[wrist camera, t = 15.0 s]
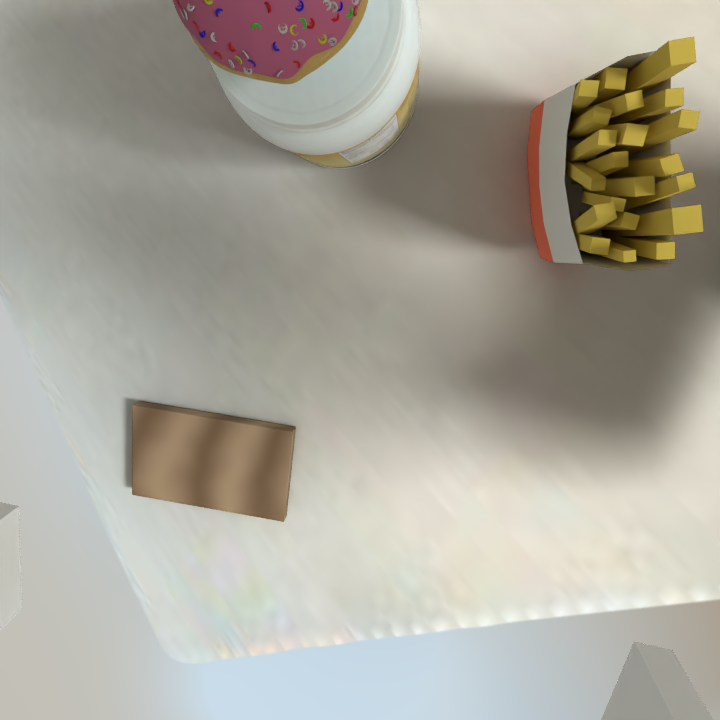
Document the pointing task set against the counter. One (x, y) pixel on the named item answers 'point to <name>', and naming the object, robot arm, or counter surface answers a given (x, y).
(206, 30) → the cupcake
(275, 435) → the cutting board
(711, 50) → the counter surface
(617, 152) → the french fries container
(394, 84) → the supplement tub
